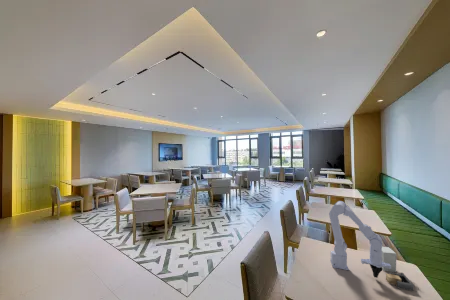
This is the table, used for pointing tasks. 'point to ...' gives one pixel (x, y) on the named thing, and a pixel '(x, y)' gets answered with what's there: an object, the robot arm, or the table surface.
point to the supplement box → (389, 259)
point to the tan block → (392, 279)
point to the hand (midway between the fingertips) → (375, 276)
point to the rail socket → (406, 283)
